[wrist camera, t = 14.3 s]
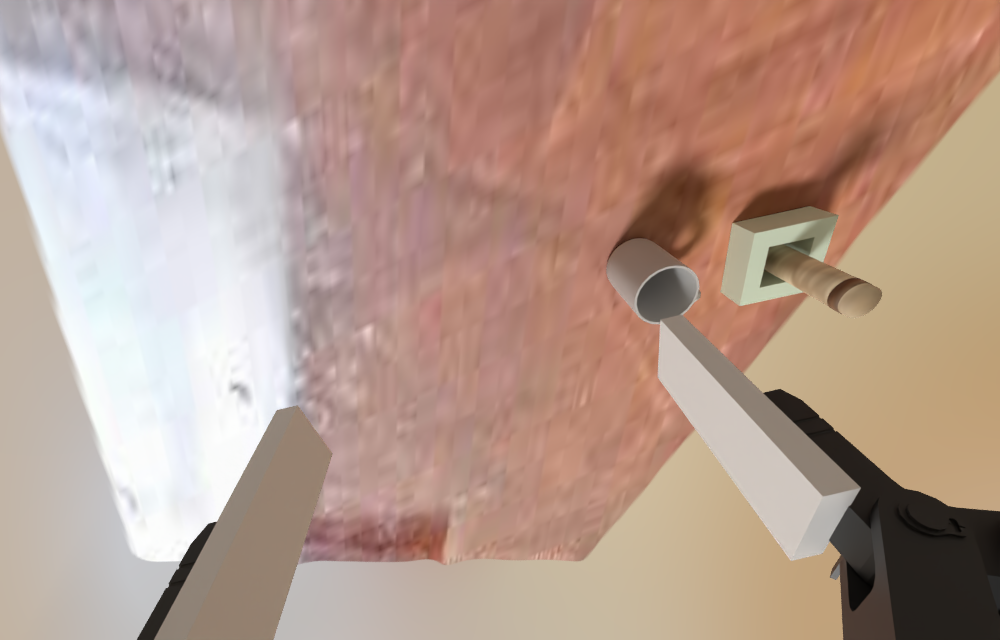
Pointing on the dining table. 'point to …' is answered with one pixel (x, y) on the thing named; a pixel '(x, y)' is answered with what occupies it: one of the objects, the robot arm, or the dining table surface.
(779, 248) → the striped wooden dowel
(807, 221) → the square block with hole
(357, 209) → the dining table surface
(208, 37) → the dining table surface
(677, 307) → the cup
